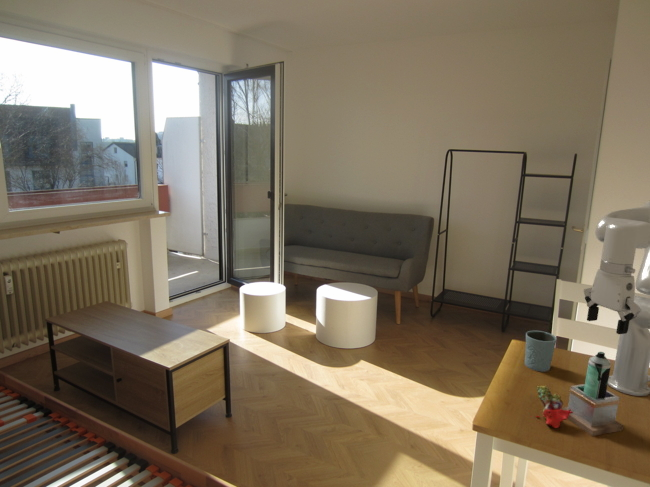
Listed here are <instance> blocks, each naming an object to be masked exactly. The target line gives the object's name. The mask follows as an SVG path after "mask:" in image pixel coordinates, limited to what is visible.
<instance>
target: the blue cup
mask: <svg viewBox="0 0 650 487" xmlns="http://www.w3.org/2000/svg"><path fill="white" fill-rule="evenodd" d="M557 340H558V339H557V337H556V336H555V335H554V334H552V333H550V332H546V331H543V330H529V331H527V332H525V350H524V351H525V353H524V355H525V356H524V365H525V367H527V368H528V369H530V370H532V371H537V372H548V371H550V370H551V364H552V359H553V356H554V352H555V347H556V343H557Z"/></svg>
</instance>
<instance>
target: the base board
mask: <svg viewBox="0 0 650 487" xmlns="http://www.w3.org/2000/svg"><path fill="white" fill-rule="evenodd" d="M561 409H562V410H567V409H568V406H565V407H564V406H562V408H561ZM566 420H568V421H571V423H573V424H574V425H575V426H577V427H579V428H580V429H581V430H583V431H584V432H586V433H587V434H589V435H590V436H592V437H593V436H595V437H596V436H599V435H604V434H610V433H614V432H615V433H616V432H621V431H623V429H624V425H623V424H622V423H620V422H618V421H617V420H615V423H611V424H605V425H600V426H594V427H590V426H589V425H588V424H586V423H585V422H583V421H582V420H580V419H579V418H577V417H576V416H574V415H573V414H569V417H568V418H567V419H566Z"/></svg>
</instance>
